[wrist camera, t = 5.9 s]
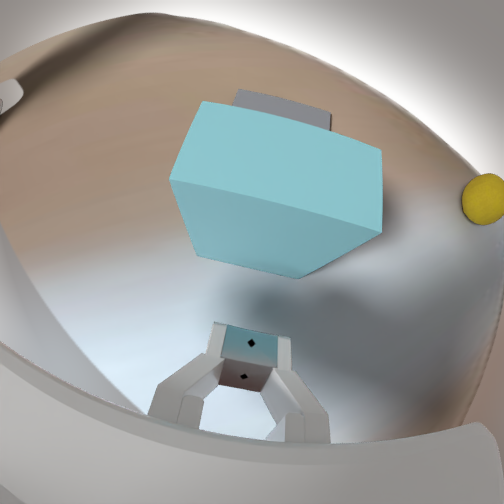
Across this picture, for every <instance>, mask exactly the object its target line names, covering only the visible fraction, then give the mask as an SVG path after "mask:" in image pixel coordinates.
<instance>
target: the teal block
mask: <svg viewBox="0 0 504 504" xmlns="http://www.w3.org/2000/svg"><path fill="white" fill-rule="evenodd" d="M169 181H170V184H171V186H172V189H173V192H174V195H175V198H176V201H177V204H178V206H179V209H180V212H181V215H182V217H183V220H184V223H185V226H186V228H187V231H188V234H189V236H190V239H191V242H192V244H193V247H194V249H195V252H196V254H197V256H200V257H204V258H208V259H212V260H217V261H221V262H225V263H229V264H234V265H238V266H242V267H246V268H251V269H255V270H259V271H264V272H268V273H273V274H277V275H282V276H286V277H290V278H295V279H300V278H302V277H303V276H305V275H307V274H309V273H311V272H313V271H315V270H316V269H318V268H320V267H322V266H324V265H326V264H327V263H329V262H331V261H333V260H335V259H337V258H338V257H340V256H342V255H344V254H345V253H347V252H349V251H351V250H353V249H354V248H356V247H358V246H360V245H361V244H363V243H365V242H367V241H368V240H370V239H372V238H373V237H375V236H377V235H379V234H380V233H382V210H383V185H382V156H381V150H380V149H377V148H375V147H372V146H370V145H367V144H365V143H362V142H360V141H357V140H354V139H351V138H349V137H346V136H343V135H340V134H337V133H334V132H331V131H328V130H325V129H322V128H319V127H316V126H312V125H309V124H306V123H302V122H299V121H295V120H291V119H288V118H284V117H280V116H276V115H272V114H268V113H263V112H259V111H255V110H250V109H245V108H240V107H235V106H230V105H224V104H218V103H212V102H205V101H202V103H201V105H200V108H199V110H198V112H197V114H196V116H195V118H194V120H193V123H192V125H191V127H190V129H189V131H188V134H187V136H186V138H185V141H184V143H183V145H182V148H181V150H180V152H179V155H178V157H177V160H176V162H175V165H174V167H173V170H172V172H171V175H170V177H169Z"/></svg>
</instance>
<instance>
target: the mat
mask: <svg viewBox="0 0 504 504" xmlns="http://www.w3.org/2000/svg"><path fill="white" fill-rule="evenodd" d="M232 106H235V107H240V108H245V109H250V110H255V111H259V112H263V113H268V114H272V115H276V116H280V117H284V118H288V119H291V120H295V121H299V122H302V123H306V124H309V125H312V126H316V127H319V128H322V129H325V130H328V131H329V130H330V114H331V113H330V112H327V111H324V110H321V109H318V108H315V107H312V106H308V105H305V104H301V103H298V102H294V101H290V100H287V99H283V98H279V97H275V96H270V95H266V94H262V93H257V92H252V91H247V90H242V89H238V92H237V94H236V97H235V99H234V102H233V104H232Z"/></svg>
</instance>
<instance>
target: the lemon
mask: <svg viewBox="0 0 504 504" xmlns="http://www.w3.org/2000/svg"><path fill="white" fill-rule="evenodd" d="M462 205H463V212H464V213H465V214H466V215H467V217H468V218H469V219H470V220H471V221H473V222H474V223H476V224H479V225H488V224H491V223H494V222H496V221H497V220H499V219H500V218H501V217H502V216H503V215H504V181H503V180H502V179H501V178H500V177H499V176H497V175H495V174H491V173H490V174H489V173H488V174H483V175H480V176H477V177H475V178H474V179H472V180H471V181H470V182H469V183H468V184H467V186H466V187H465V189H464V192H463V195H462Z"/></svg>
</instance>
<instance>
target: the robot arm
mask: <svg viewBox="0 0 504 504" xmlns="http://www.w3.org/2000/svg"><path fill="white" fill-rule="evenodd" d="M2 105H3V102H2V100H1V99H0V113H1V110H2ZM218 385H223V386H229V387H234V388H240V389H245V390H250V391H255V392H261V393H260V394H261V396H262V398H263V400H264V402H265V404H266V406H267V407H268V409H269V411H270V413H271V415H272V417H273V419H274V421H275V422H276V424H277V426H276V427H275V428H274V429H273V430H272V431H271V433H270V434H269V435H268V436H267V437H266V440H258V439H251V438H243V437H237V436H231V435H225V434H220V433H214V432H209V431H205V430H200V429H199V425H200V420H201V415H202V409H203V404H204V401H203V399H204V398H205V397H207V396H208V395H209V394H210V393H211V392H212V391H213V390H214V389H215V388H216V387H217V386H218ZM0 504H504V479H503V471H502V464H501V459H500V454H499V449H498V445H497V443H496V440H495V438H494V436H493V435H492V434H491V433H490V431H489V430H488V429H486V427H485V426H484V425H482V424H481V423H480V422H473V423H470V424H466V425H463V426H459V427H455V428H452V429H448V430H443V431H439V432H434V433H430V434H425V435H419V436H413V437H407V438H401V439H393V440H385V441H374V442H361V443H338V444H331V441H330V429H329V417H328V414H327V412H326V411H325V410H324V408H323V407H322V406H321V404H320V403H319V402H318V400H317V399H316V398H315V397H314V395H313V394H312V393H311V391H310V390H309V389H308V387H307V386H306V385H305V383H304V382H303V381H302V379H301V378H300V376H299V375H298V374H297V372H296V371H292V358H291V339H290V337H285V336H280V335H274V334H269V333H263V332H258V331H253V330H247V329H243V328H239V327H235V326H231V325H226V324H222V323H218V322H214V323H213V326H212V330H211V334H210V338H209V342H208V346H207V349H206V353H205V354H203V353H201V354H200V355H198V356H197V357H196V358H194V359H193V360H192V361H190V362H189V363H188V364H186V365H185V366H184V367H182V368H181V369H179V370H178V371H177V372H175V373H174V374H172V375H171V376H170V377H168V378H167V379H165V380H164V381H163V382H161V383H160V384H158V386H157V389H156V391H155V394H154V397H153V400H152V403H151V406H150V409H149V412H148V415H146V414H143V413H140V412H136V411H134V410H131V409H128V408H126V407H123V406H120V405H118V404H115V403H113V402H110V401H108V400H105V399H103V398H100V397H98V396H96V395H94V394H91V393H89V392H87V391H85V390H83V389H81V388H78V387H76V386H74V385H72V384H70V383H68V382H66V381H64V380H62V379H61V378H59V377H57V376H55V375H53V374H51V373H50V372H48V371H46V370H44V369H43V368H41V367H39V366H37V365H35V364H34V363H32V362H31V361H29V360H28V359H26V358H24V357H23V356H21V355H20V354H18V353H17V352H15V351H14V350H12V349H11V348H10V347H8V346H7V345H5V344H4V343H2V342H1V341H0Z"/></svg>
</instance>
